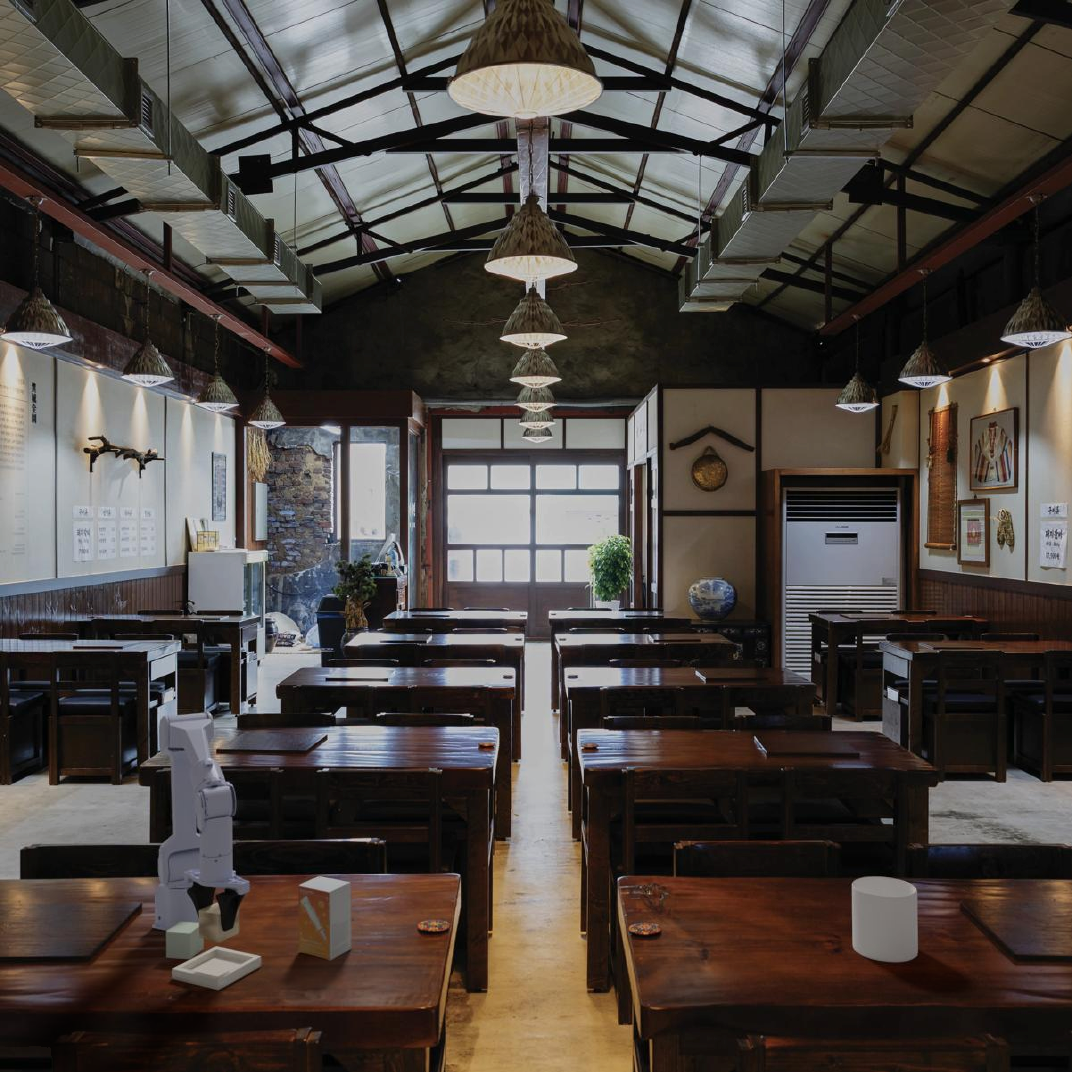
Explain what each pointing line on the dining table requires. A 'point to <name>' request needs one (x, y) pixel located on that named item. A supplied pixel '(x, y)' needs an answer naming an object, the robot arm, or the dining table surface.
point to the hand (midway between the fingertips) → (216, 926)
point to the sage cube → (183, 941)
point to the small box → (324, 917)
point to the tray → (216, 968)
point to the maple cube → (215, 924)
